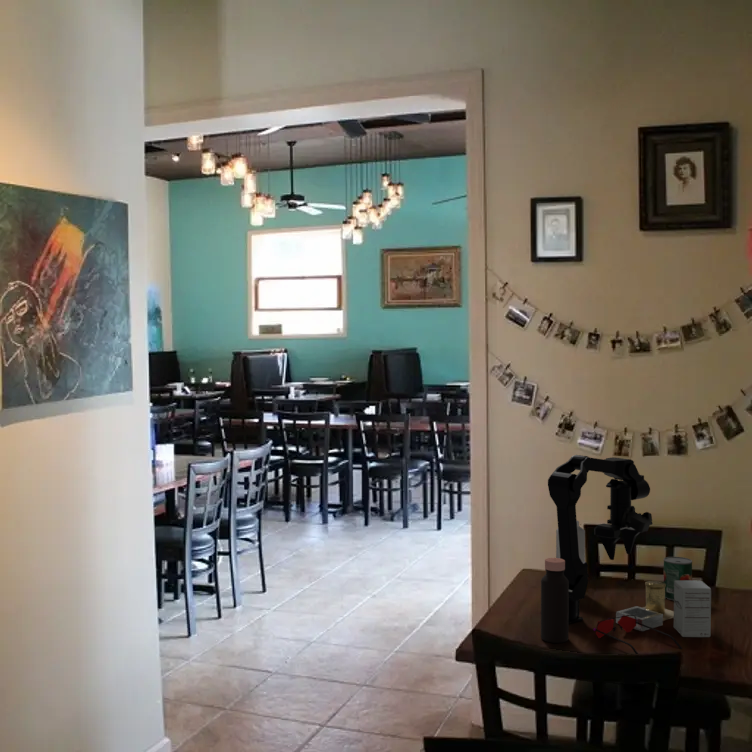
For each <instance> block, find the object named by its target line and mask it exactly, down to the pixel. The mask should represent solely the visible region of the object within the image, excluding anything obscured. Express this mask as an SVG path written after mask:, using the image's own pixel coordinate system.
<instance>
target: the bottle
mask: <svg viewBox="0 0 752 752" xmlns="http://www.w3.org/2000/svg"><path fill="white" fill-rule="evenodd" d="M544 569H545V570H544V571H545V574H544V575H543V576H542V578H541V579H540V638H541V640H543V641H545V642H546V643H551V644H561V643H566V642H568V641H569V640H568V639H569V629H570V627H569V624H570V623H569V581H568V579H567V578H566V577H565V576H564V571H565V560H563V559H560V558H556V557H547V558H545V559H544Z"/></svg>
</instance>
